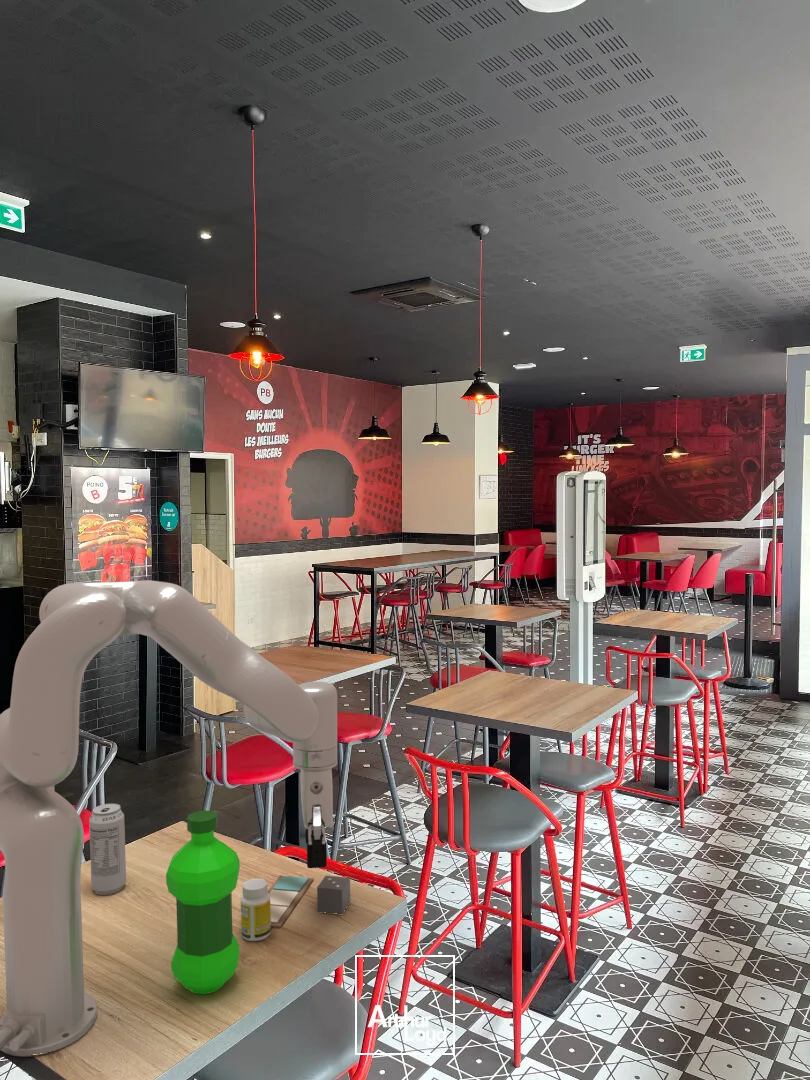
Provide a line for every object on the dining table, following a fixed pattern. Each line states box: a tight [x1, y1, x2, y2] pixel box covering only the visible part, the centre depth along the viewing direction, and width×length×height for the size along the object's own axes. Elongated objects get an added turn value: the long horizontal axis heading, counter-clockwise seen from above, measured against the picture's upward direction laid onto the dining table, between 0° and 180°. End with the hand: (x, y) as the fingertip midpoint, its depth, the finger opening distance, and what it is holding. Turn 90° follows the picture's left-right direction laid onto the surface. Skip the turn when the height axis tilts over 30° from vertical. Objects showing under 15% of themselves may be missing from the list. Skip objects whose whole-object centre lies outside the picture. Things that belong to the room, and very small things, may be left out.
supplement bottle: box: [240, 877, 272, 942], centre depth 130 cm, size 5×5×8 cm
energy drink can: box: [88, 803, 127, 896], centre depth 147 cm, size 6×6×15 cm
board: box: [267, 875, 315, 929], centre depth 141 cm, size 17×7×1 cm, turn 168°
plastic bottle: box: [165, 809, 241, 995], centre depth 117 cm, size 10×10×25 cm
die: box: [316, 875, 351, 915], centre depth 139 cm, size 4×4×5 cm
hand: (315, 854), depth 136 cm, fingers open, 9 cm apart
